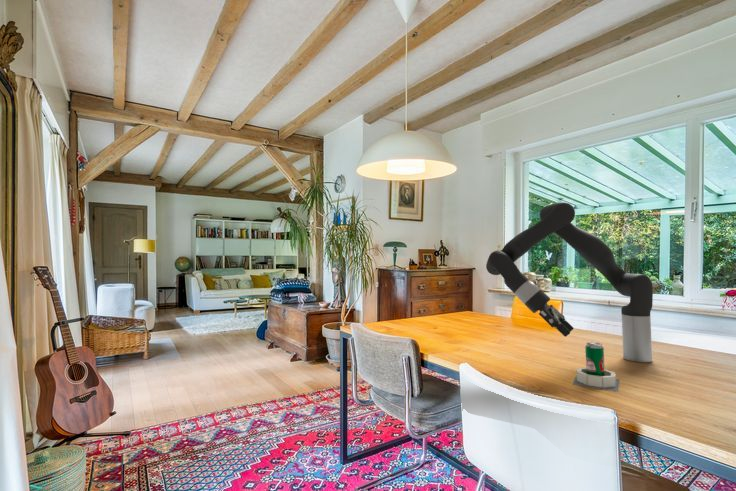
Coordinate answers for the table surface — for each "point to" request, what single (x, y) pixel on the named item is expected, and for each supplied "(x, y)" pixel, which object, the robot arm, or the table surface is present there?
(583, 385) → the mat
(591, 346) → the soda can
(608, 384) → the grey faceted ashtray
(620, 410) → the table surface
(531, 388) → the table surface
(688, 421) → the table surface
